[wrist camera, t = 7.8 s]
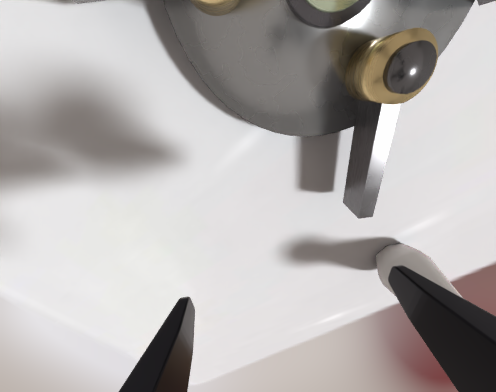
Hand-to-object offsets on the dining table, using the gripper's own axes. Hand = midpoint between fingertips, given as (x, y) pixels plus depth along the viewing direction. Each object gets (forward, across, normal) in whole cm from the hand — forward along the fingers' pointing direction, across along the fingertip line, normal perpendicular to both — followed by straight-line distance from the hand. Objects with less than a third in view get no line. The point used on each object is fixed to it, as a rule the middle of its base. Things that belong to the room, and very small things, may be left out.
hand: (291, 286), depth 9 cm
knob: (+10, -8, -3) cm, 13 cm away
